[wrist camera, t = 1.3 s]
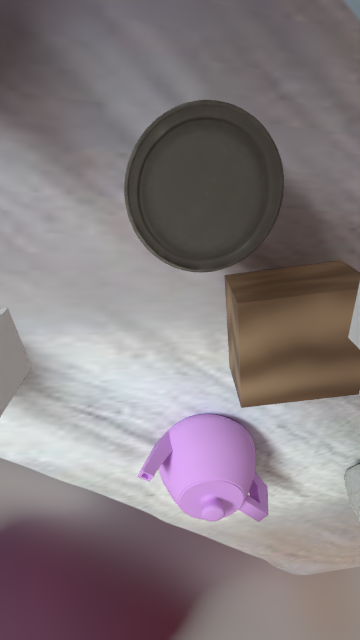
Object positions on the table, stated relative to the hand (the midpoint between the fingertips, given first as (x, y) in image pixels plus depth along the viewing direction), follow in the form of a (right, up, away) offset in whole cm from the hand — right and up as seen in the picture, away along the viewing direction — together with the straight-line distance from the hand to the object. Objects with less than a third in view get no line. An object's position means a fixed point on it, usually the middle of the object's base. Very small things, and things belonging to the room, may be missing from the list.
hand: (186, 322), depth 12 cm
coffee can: (+1, +15, +21) cm, 25 cm away
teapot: (+4, -20, +40) cm, 45 cm away
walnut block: (+13, 0, +29) cm, 31 cm away
